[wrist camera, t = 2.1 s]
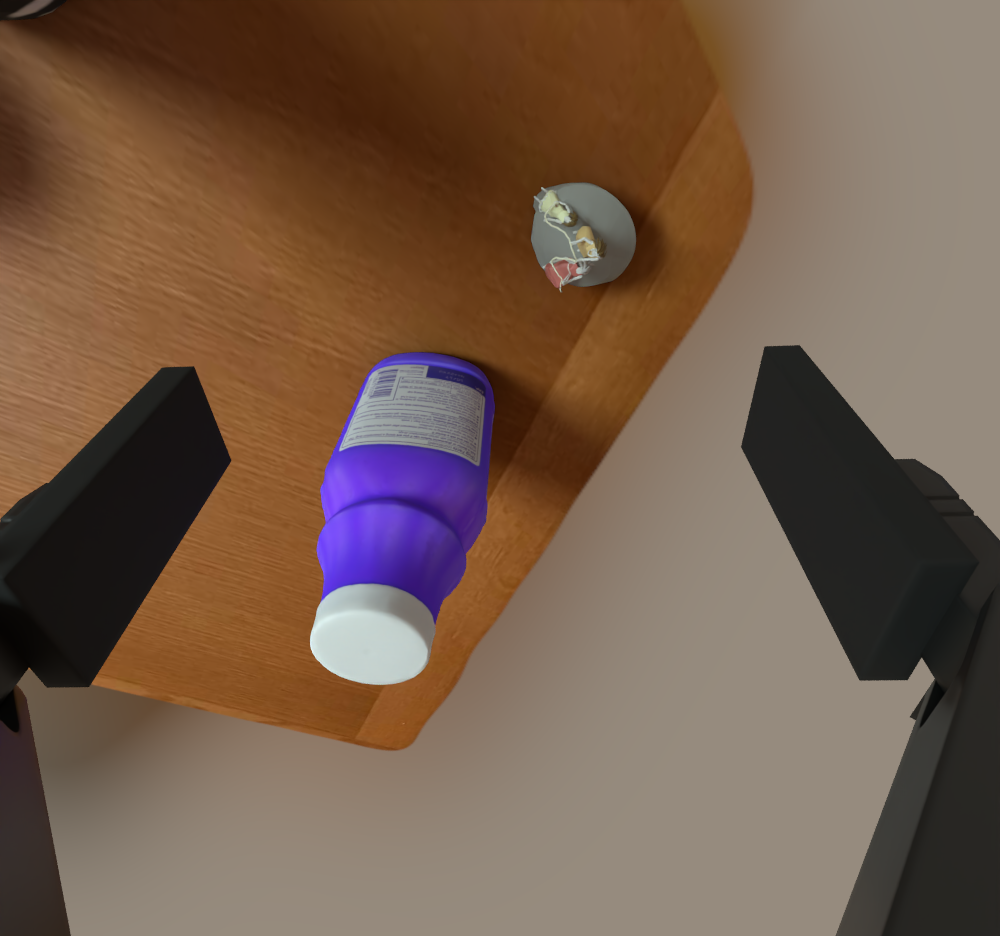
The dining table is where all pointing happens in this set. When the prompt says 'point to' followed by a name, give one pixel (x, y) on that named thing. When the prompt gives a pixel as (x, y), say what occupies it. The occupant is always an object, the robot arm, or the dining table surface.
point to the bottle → (401, 513)
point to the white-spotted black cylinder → (27, 8)
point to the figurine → (581, 234)
